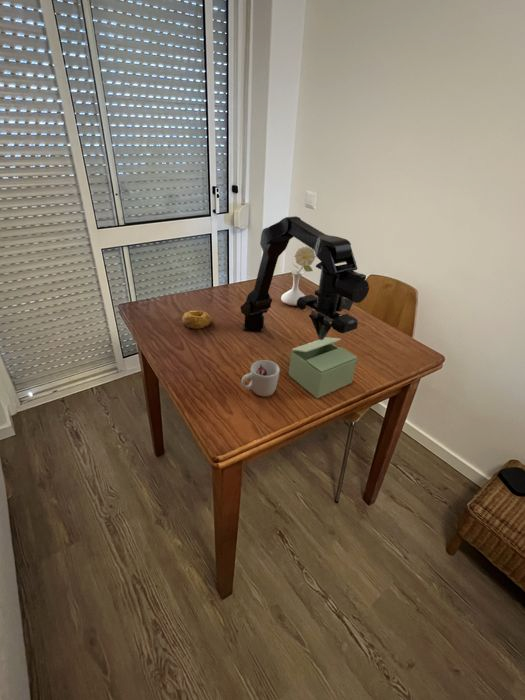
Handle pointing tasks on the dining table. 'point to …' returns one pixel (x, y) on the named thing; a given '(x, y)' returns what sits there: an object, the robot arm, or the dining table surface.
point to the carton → (322, 369)
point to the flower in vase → (299, 274)
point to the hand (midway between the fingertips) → (321, 339)
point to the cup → (262, 377)
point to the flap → (316, 344)
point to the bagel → (196, 319)
